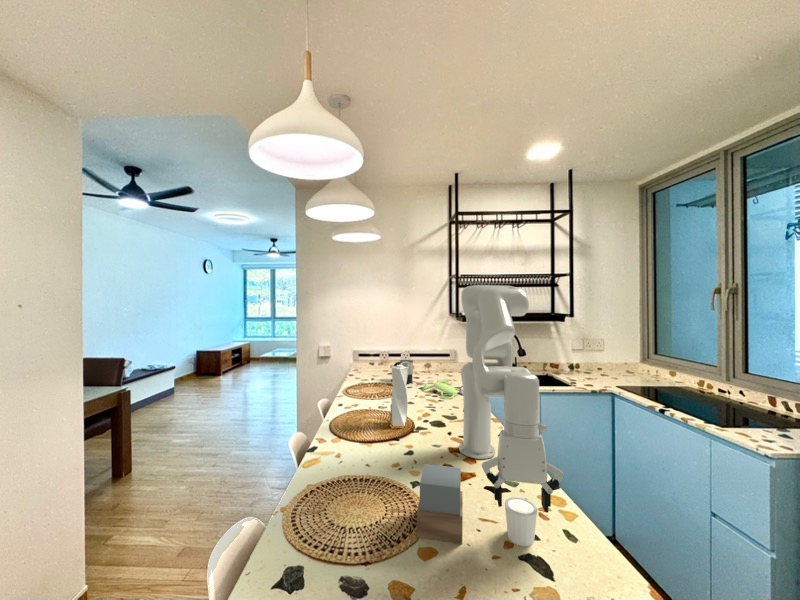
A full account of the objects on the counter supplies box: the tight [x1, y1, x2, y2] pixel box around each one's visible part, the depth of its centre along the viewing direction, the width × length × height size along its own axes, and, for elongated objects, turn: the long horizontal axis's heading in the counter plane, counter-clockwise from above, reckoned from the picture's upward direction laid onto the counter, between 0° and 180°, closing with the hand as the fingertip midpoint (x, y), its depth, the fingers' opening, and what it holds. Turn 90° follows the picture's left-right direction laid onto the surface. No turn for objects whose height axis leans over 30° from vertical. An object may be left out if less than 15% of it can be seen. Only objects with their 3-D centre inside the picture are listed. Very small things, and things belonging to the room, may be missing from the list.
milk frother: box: [390, 359, 414, 384], centre depth 215 cm, size 14×16×15 cm
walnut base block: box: [416, 490, 464, 545], centre depth 76 cm, size 10×10×6 cm
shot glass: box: [504, 496, 538, 547], centre depth 72 cm, size 7×7×7 cm
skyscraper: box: [389, 361, 410, 426], centre depth 139 cm, size 8×8×28 cm
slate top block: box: [419, 463, 462, 515], centre depth 76 cm, size 9×9×6 cm
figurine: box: [421, 379, 464, 400], centre depth 194 cm, size 18×27×6 cm
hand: (521, 506), depth 72 cm, fingers open, 9 cm apart
